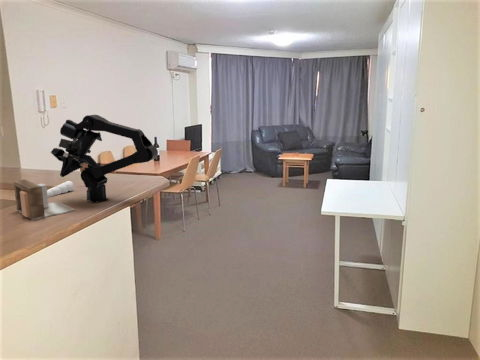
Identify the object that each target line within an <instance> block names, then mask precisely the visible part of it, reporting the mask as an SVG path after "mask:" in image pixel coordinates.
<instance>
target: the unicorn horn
mask: <svg viewBox="0 0 480 360" xmlns="http://www.w3.org/2000/svg"><path fill="white" fill-rule="evenodd" d="M74 190H75V185H74V182H72V181H71V180H67V181H64V182H63V183H60V184H57V185H55V186H53V187H51V188H49V189H47V196H48V198H50V197H54V196H59V195H61V193H62V194H65V193H68V191H70V192H73V191H74Z"/></svg>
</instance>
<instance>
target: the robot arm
mask: <svg viewBox="0 0 480 360" xmlns="http://www.w3.org/2000/svg"><path fill="white" fill-rule="evenodd" d="M59 131H60V132H59V133H60V136H63V137H65V138H68V139H65V138H60V141H59V144H58V147H54V148H53V149H52V150H51V151H50V154H52V156H53V157H55V158H56V159H57V160H58V161H59V162H61V163H62V164H61V165H62V167H61V170H60V175H59V176H60V177H61V178H64V177H66V176H68V175H70V174H71V173H73V172H75V171H78V170H79V169H83V164H86V165H87V166H86V167H85V166H84V169H83V170H81V171H80V172H81V173H80V179H81V181H83V184H84V186H85V188H87V189H86V201H89V202H91V203H99V202H105V201H108V200H109V198H108V197H107V192H106V191H107V190H106V189H107V187H106V184H107V183H108V180H109V179H108V177H106V175H107V174H110V173H112V172H115V171H118V170H120V169H123V168H126V167H129V166H132V165H135V164H143V163H149V162H150V161H153V160H155V159H156V158H157V157H158V154H159V152H158V149H157V147H156V146H155V145H153V144H152V142H151V140H150V139H149V138H148V137H147V136H146V135H145V134H144V131H142V130H141V129H140V128H133V127H130V126H127V125H123V124H119V123H115V122H112V121H109V120H108V119H106V118H105V117H103V116H100V115H98V114H91V115H90V114H89V115H85V116H83V118H82V121H80V122H79V123H77V122H76V121H75V122H74V121H73V120H71V119H66V120H65V122H64V123H63V124H62V126H61V127H60V130H59ZM101 132H105V133H110V134H112V135H113V134H114V135H115V136H116V135H117V136H120V137H124V138H128V139H131V141H132V142H133V145H134V148H135V150H136V151H135V152H133V153H132V154H131V155H128V156H126V157H123V158H120V159H117V160H115V161H112V162H108V163H106V164H102V165H101V162H96V160H95V159H94V158H93V157H92V156H91V155H89V154H91V152H92V151H91V148H92V147H93V145H94V143H96V141H99V142H102V141H103V139H102V135H101ZM63 148H64V149H65V150H64V149H63Z"/></svg>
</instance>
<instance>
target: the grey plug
mask: <svg viewBox="0 0 480 360" xmlns="http://www.w3.org/2000/svg"><path fill="white" fill-rule="evenodd" d="M36 184H37V185H39V186H42V192H43V202H44V208H47V207H49V206H48V204H49V197H48V196H47V190H48V189H47V188H48V187H47V184H44V183H36Z"/></svg>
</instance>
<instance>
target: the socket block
mask: <svg viewBox="0 0 480 360" xmlns="http://www.w3.org/2000/svg"><path fill="white" fill-rule="evenodd" d="M37 184H38V183H34V182H32V181H30V180H28V179H19V180H13V188H14V196H15V204H16V205H15V207H16V212H18V211H19V212H18V213H20V214H21V213H22V207H21V199H20V191H27V192H28V196H29V205H30V214H31V217H27V218H28V219H30V220H32V221H35V220H36V221H37V220H40V219H45V218H49V217H54V216H59V215H62V214H67V213H72V212H76V209H74V208H72V207H70V206H68V205H66V204H64V203H62V202H60V201H55V202H54V201H53V202H48V206H49V207H47V208H44V205H43V195H42V186H39V185H37ZM44 211H45V214H44Z"/></svg>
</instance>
